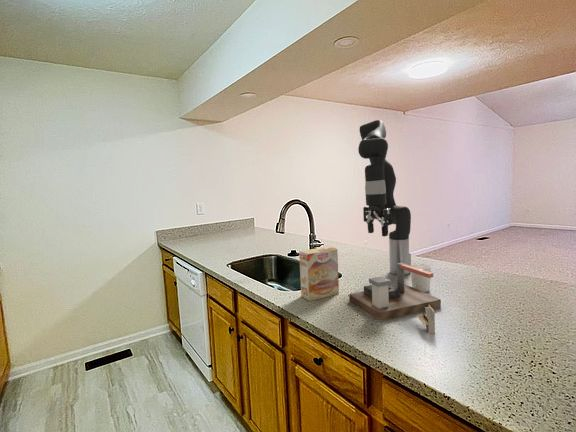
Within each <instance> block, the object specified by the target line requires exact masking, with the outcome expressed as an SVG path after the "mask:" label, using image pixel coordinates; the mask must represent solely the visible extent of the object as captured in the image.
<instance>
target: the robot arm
mask: <svg viewBox="0 0 576 432" xmlns="http://www.w3.org/2000/svg"><path fill="white" fill-rule="evenodd" d="M359 134H360V137H361V141H360V142H359V144H358V147H357V150H358V154H359V156H360V157H361V158H363V159H366V160H367V159H369V163H370V164H369V165H366V166H365V167H364V179H365V181H364V185H365V186H364V190H365V192H364V193H365V206H363V208H362V209H363V210H362V211H363V214H362V215H363V222H364V223H365V222H366V223H365V224H367V232H368V234H373V233H374V232H375V227H374V221H375V220H377V222H379V223H380V226H381V237H388V245H389V247H388V249H389V251H388V253H389V254H388V255H389V273H390V274H393V275H395V276H397V263H404V264H406V265H409V266H411V265H412V257H411V256H412V254H411V253H410V234H411V221H412V215H411V214H412V213H411V211H410V208H409V207H407V206H404V205H397V203H396V201H395V197H394V191H395V188H396V184H397V177H396V175H395V174H396V173H395V170H394V167H393V165H392V164H391V162H389V160H387V159H386V158H387V154H388V149H389V144H388V141H387V140H386V138H387V131H386V126H385V124H384V122H383V121H382V120H381V119H376V120H373V121H371V122H367V123H365V124H362V125H360V126H359ZM391 225H395V230H392V231H390V232H389V226H391ZM409 274H411V272H410V271H407V270H404V276H405V275H409Z"/></svg>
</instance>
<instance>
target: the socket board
mask: <svg viewBox="0 0 576 432" xmlns="http://www.w3.org/2000/svg"><path fill="white" fill-rule="evenodd" d="M388 293H389V307H384V308H377V307H376V306H374V305H372V284H368V285H364V286H363V291H360V292H359V291H358V292H354V293H350V294H349V295H348V296H349V300H348V301H349V303H351V304H353V305H354V306H355V307H357V308H359V309H360V310H362V311H363V312H365V313H366V314H367V315H370V316H371V317H372V318H374V319H375V320H377V321H378V322H384V321H387V320H391V319H396V318H401V317H406V316H411V315H414V314H418V313H423V312H426V310H425V307H428V305H430V307H431V308H432V309H433V310H435V309H439V308H442V307H441V306H442V303H441V302H442V301H441V299H440V298H438V297H436V296H434V295H431V294H430V293H427V292H422V291H420V290H417V289H415V288H412V286H410V285H407V284H405V283H404V292H400V290H399V289H397V284H396V285H392V284H391V285H388Z"/></svg>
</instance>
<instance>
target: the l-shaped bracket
mask: <svg viewBox="0 0 576 432" xmlns="http://www.w3.org/2000/svg"><path fill="white" fill-rule="evenodd" d="M404 270H407V271H410V273H411V272H413V273H415V274H418V275H421V276H424V277H427V278H430V279H431V278H432V279H433V278H434V273H433V272H428V271H425V270H422V269H418V268H415V267H412V266H409V265H406V264H404V263H397V275H396V277H397V278H396V279H397V282H396V283H397V284H396V285H397V289H399V290H400V292H404V284H405V275H404Z"/></svg>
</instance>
